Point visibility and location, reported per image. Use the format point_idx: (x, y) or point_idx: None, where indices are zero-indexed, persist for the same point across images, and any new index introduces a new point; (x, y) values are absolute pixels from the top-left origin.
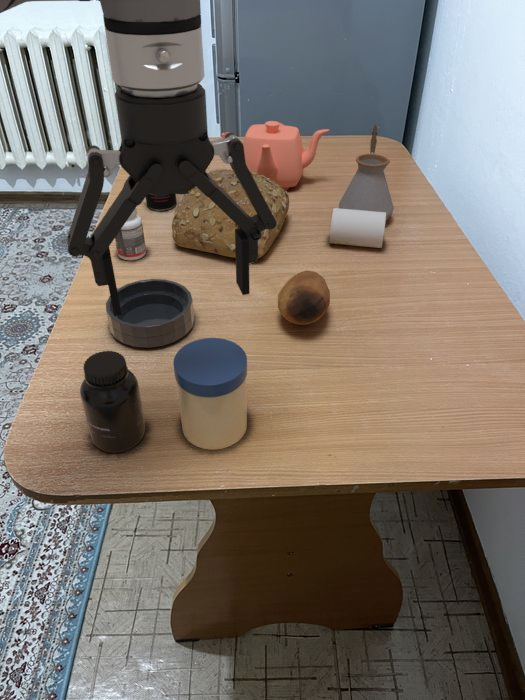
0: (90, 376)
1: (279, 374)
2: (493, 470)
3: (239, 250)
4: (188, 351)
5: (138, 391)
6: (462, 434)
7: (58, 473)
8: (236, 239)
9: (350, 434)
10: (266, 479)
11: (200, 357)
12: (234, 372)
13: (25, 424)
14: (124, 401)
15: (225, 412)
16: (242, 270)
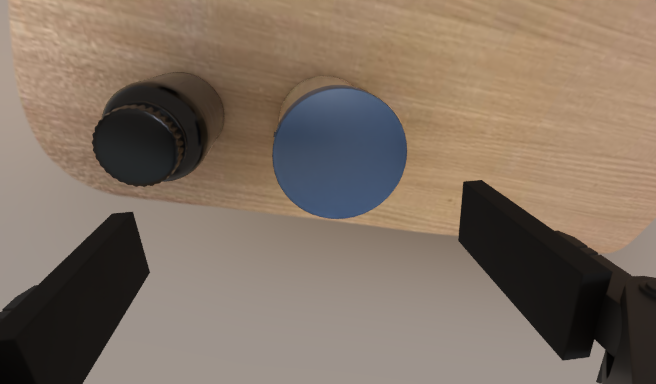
0: (114, 177)
1: (448, 32)
2: (597, 249)
3: (531, 292)
4: (304, 124)
5: (209, 142)
6: (607, 200)
7: None
8: (553, 273)
9: (488, 175)
10: (368, 220)
11: (324, 147)
12: (374, 197)
13: (25, 56)
14: (187, 174)
15: None
16: (496, 283)
